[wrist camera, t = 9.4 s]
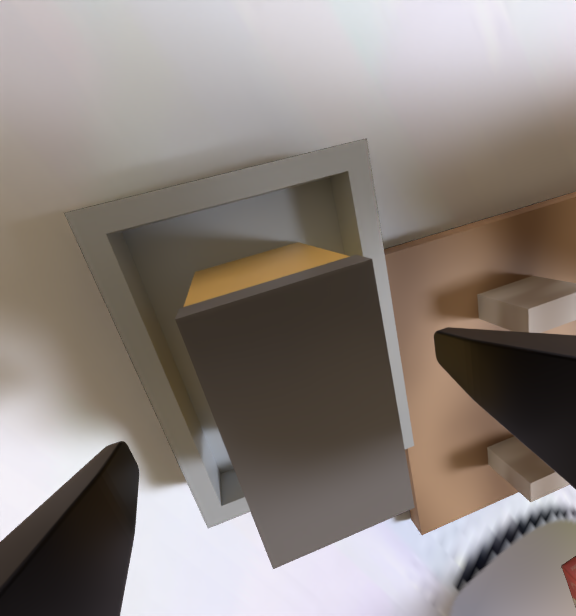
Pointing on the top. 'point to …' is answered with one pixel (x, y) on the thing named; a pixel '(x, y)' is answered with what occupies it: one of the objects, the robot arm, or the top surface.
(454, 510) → the flat brown board
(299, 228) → the parts tray
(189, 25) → the top surface
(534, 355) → the robot arm
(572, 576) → the ink cartridge box
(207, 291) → the grey rectangular block
